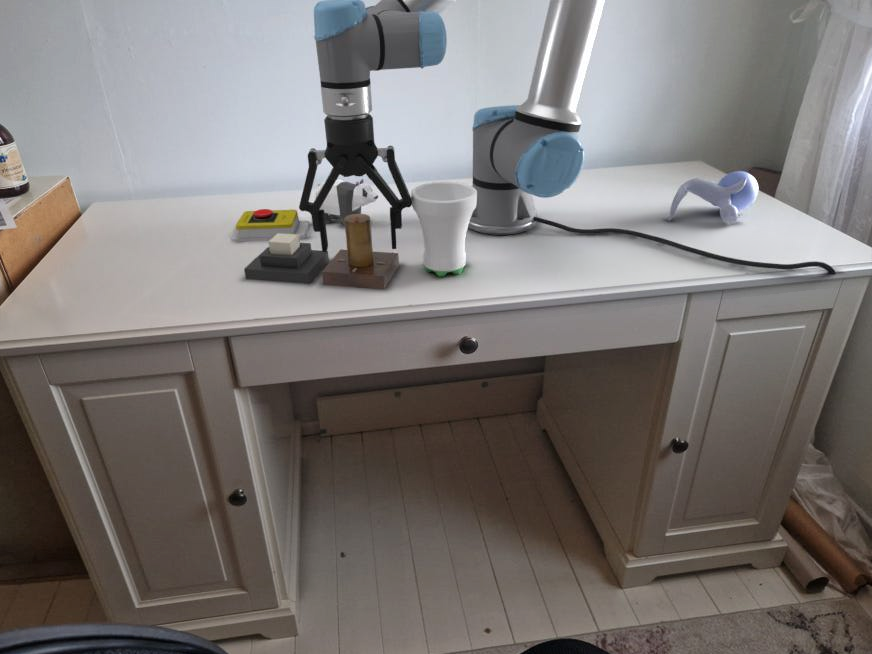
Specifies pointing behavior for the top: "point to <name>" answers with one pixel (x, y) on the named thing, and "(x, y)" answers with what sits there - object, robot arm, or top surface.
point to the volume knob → (359, 240)
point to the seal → (721, 193)
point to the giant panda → (346, 199)
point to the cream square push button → (284, 244)
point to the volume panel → (361, 271)
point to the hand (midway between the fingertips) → (359, 247)
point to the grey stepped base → (288, 265)
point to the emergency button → (268, 225)
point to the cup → (444, 223)
